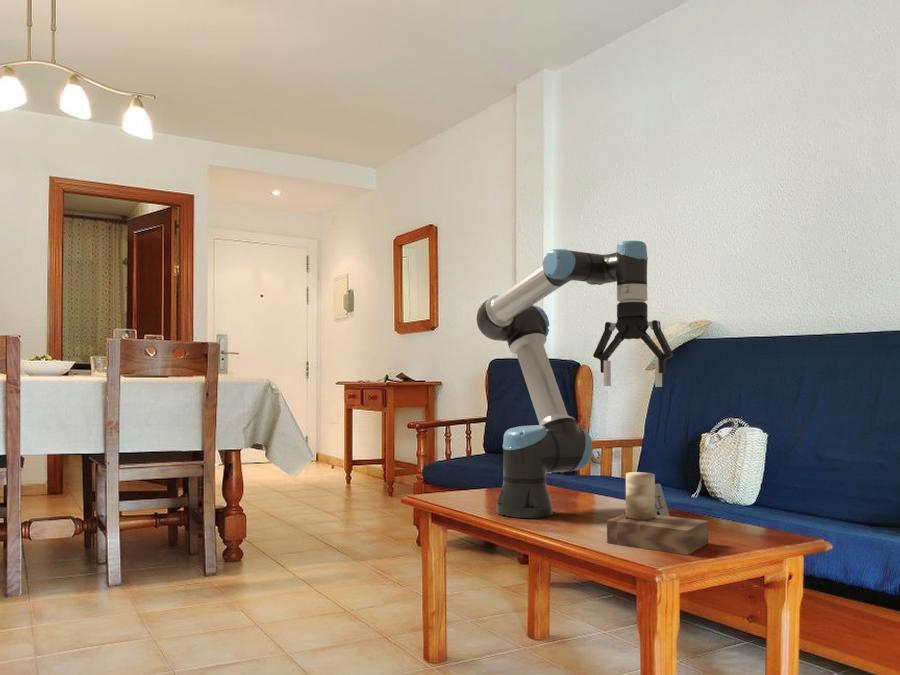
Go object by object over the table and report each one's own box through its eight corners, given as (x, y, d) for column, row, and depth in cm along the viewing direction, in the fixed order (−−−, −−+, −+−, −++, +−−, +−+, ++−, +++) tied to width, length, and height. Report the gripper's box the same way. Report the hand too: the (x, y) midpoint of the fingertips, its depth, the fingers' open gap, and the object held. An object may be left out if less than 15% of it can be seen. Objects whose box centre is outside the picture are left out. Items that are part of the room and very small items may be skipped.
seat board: (607, 542, 164) (607, 520, 165) (631, 532, 176) (631, 511, 176) (687, 555, 154) (687, 530, 154) (708, 543, 165) (708, 520, 165)
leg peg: (621, 539, 166) (620, 474, 167) (632, 534, 171) (632, 471, 172) (648, 542, 162) (648, 476, 163) (659, 538, 168) (659, 473, 168)
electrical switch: (656, 524, 187) (652, 487, 188) (636, 523, 190) (633, 487, 191) (670, 519, 194) (667, 483, 196) (651, 518, 198) (648, 483, 199)
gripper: (580, 303, 191) (580, 385, 190) (675, 298, 177) (676, 387, 175) (593, 306, 197) (593, 385, 196) (686, 301, 183) (686, 387, 181)
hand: (632, 386), depth 186 cm, fingers open, 13 cm apart
